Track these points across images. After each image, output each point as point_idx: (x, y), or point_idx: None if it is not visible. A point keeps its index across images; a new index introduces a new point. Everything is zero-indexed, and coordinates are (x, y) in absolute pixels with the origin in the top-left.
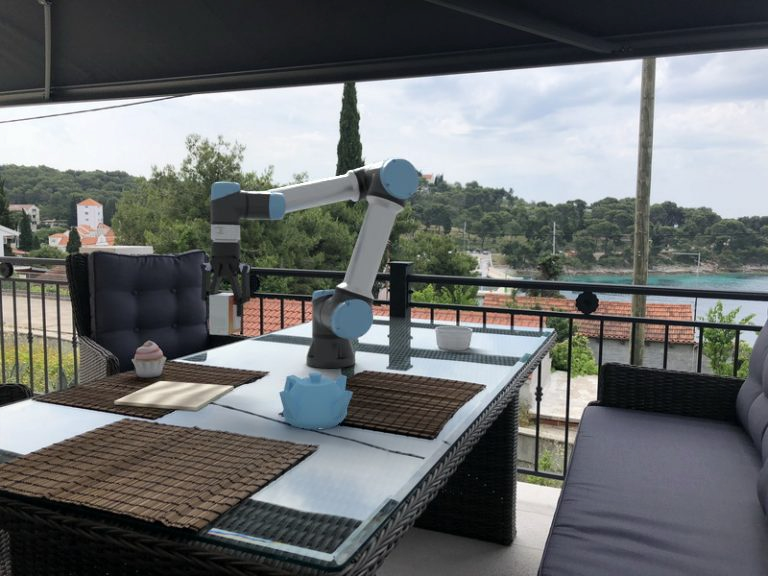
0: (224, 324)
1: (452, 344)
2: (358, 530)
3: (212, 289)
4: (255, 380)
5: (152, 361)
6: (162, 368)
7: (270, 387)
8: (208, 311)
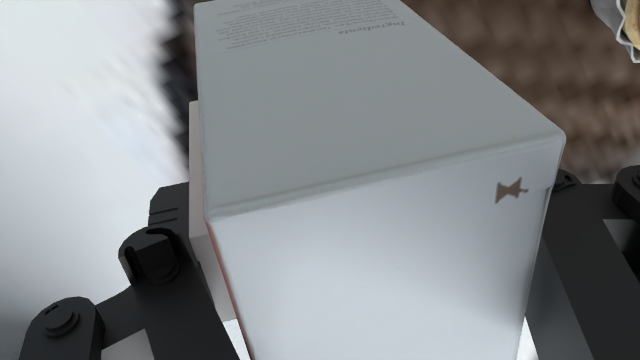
0: (236, 23)
1: None
2: None
3: (613, 305)
4: (170, 99)
5: None
6: (600, 10)
7: (9, 24)
8: None
